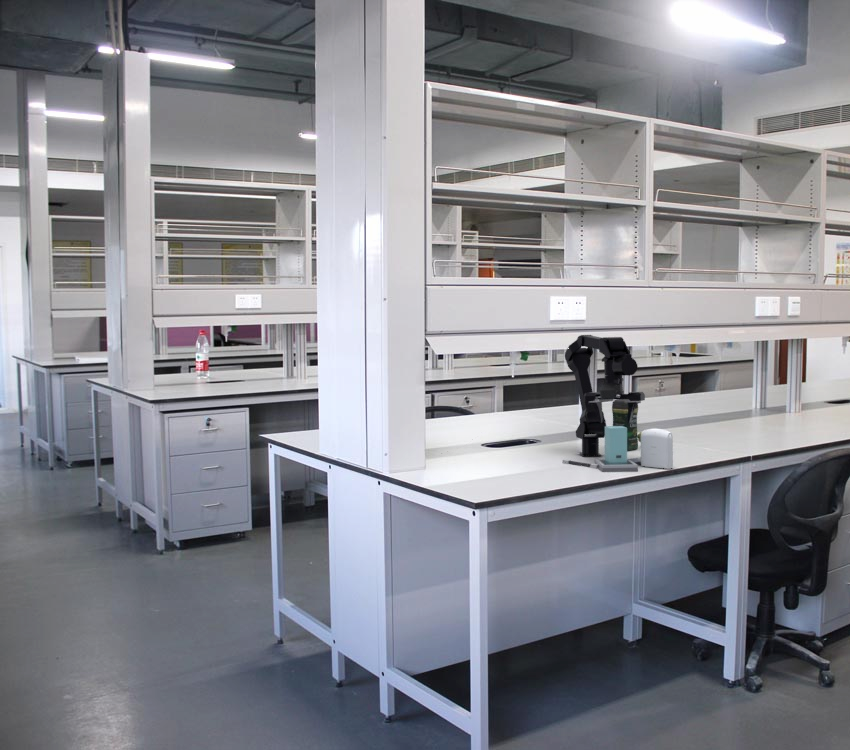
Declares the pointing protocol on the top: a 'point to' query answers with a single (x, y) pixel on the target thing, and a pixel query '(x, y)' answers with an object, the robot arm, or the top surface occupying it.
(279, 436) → the top surface
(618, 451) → the charger
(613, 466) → the tray
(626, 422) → the coffee jar
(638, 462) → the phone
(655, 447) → the photo printer
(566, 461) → the pen
